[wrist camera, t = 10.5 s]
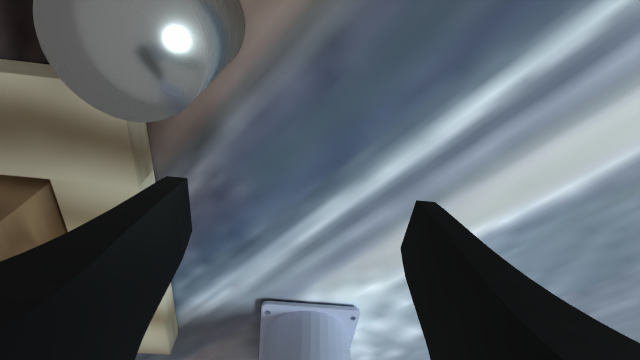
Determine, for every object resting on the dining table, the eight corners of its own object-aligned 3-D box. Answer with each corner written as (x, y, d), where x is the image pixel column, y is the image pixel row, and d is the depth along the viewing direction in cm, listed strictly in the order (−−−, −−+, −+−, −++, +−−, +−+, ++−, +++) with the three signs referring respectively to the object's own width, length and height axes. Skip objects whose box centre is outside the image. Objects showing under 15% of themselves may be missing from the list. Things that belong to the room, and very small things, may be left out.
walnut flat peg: (82, 233, 23) (2, 323, 17) (37, 229, 23) (-61, 319, 17) (63, 171, 21) (-39, 251, 15) (12, 166, 20) (-115, 245, 14)
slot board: (178, 332, 29) (170, 354, 27) (6, 321, 28) (-14, 344, 26) (138, 75, 18) (119, 85, 16) (-155, 40, 17) (-209, 48, 15)
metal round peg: (244, 77, 18) (209, 129, 12) (147, 66, 17) (59, 113, 11) (245, -33, 15) (200, -39, 9) (131, -50, 15) (6, -67, 9)
